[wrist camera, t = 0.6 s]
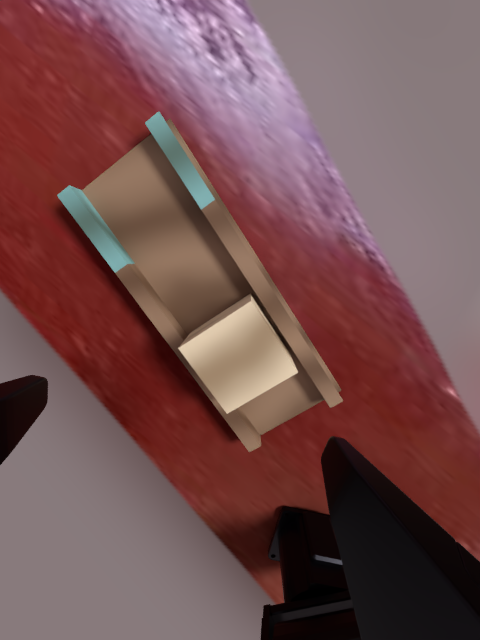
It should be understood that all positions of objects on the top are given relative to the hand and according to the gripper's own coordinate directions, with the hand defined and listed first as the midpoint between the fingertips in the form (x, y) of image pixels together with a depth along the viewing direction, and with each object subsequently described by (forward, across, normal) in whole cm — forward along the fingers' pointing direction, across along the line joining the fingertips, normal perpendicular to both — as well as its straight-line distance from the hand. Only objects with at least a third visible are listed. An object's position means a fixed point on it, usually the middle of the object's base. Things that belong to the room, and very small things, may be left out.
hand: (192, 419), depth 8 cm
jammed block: (+14, -2, +3) cm, 14 cm away
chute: (+15, +1, 0) cm, 15 cm away
